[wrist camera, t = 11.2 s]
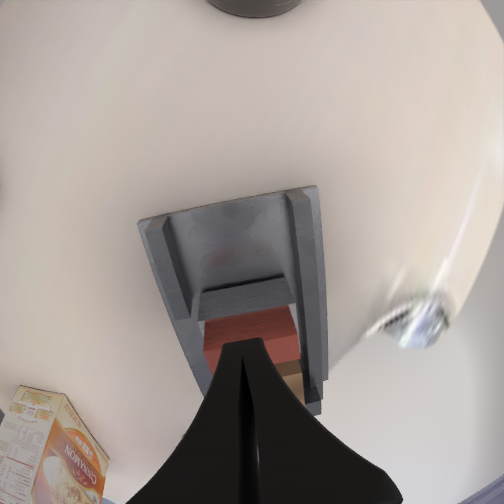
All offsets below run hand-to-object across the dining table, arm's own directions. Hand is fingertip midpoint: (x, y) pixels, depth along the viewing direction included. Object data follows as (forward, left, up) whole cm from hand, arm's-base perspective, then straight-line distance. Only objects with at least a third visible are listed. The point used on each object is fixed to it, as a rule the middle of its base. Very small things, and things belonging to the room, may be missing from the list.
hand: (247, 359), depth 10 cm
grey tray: (-6, 0, -10) cm, 11 cm away
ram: (-4, 0, -9) cm, 10 cm away
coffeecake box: (-19, +25, -10) cm, 33 cm away
